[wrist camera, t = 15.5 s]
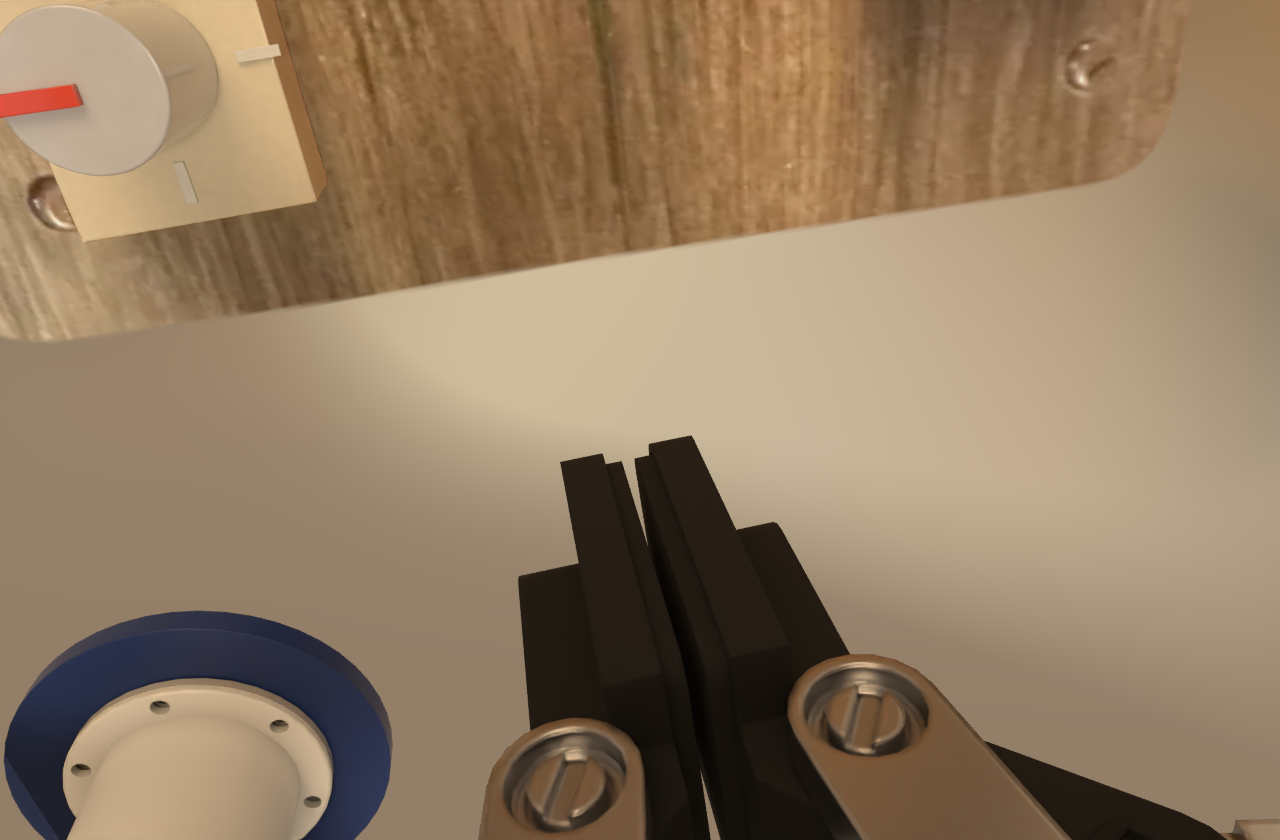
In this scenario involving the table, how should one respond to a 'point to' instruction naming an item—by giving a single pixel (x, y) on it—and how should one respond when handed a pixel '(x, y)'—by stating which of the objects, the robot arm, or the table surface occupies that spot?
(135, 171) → the panel
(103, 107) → the tap knob
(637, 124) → the table surface
